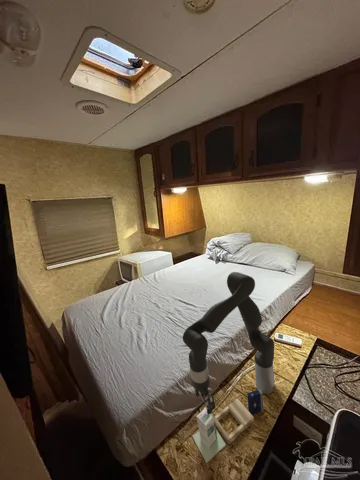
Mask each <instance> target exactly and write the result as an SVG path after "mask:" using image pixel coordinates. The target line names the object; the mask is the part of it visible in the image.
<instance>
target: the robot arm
mask: <svg viewBox="0 0 360 480" xmlns="http://www.w3.org/2000/svg"><path fill="white" fill-rule="evenodd" d="M226 285H227V288H228V290H229V292H230V294H231V295H230V296H228V297H227V298H226V299H224V300H221V301H219V302H216V303H215V304H213V305H212V306H211V307H210V308H209V309H208V310H207V311H206V312H205V313H204V314H203V316H202V317H201V318H200V319H198V320H196V321H195V322H194V323H192V324H191V325H190V326H188V327H187V328H186V329H185V331H183V334H182V342H183V344H184V345H186V346H187V347H188V349H189V350H190V351H189V354H188V364H189V374H190V375H189V376H190V382H191V383H190V384H191V386H192V387H193V390H194V393H195V397H196V398H198V397H201V400H202V401H203V404H205V407H206V408H207V413H208V415H209V414H211V413H212V414H213V411H214V410H215V409H216V405H215V404H216V402H215V397H214V395H213V394H211V393H210V391H209V386H210V384H211V383H210V382H211V379H210V375H209V373H210V372H209V367H208V364H207V363H208V362H207V361H208V360H207V353H208V348H209V342H208V339H207V338H206V337H205V335H203V333H205V332H207V333H210V334H213V333H214V332H215V331H216V330H217V329H218V328H219V326H220V325H221V324H223V322H224V320H225V319H226V318H227V316H229V315H230V314H231V313H232V312H233V311H234V310H236V308H238V311H239V314H240V316H241V319H242V322H243V323H244V325H245V328H246V331H247V335H248V340H249V343H250V345H251V346H252V348H253V349H254V350H256V352H255V353H254V371H255V372H254V375H255V386H256V388H257V389H256V390H258V389H261V390H262V392H263V394H266V395H267V394H269V395H270V394H272V392H273V391H274V386H275V371H274V358H275V341H274V339H273V338H271V337H270V336H268V335H267V334H265V333H263V332H262V331H261V330H260V327H261V325H262V323H263V317H262V313H261V312H260V309H259V306H258V305H257V304H256V302H255V301H254V300H253V299H252V298H251V297H250V296H251V294H252V293H253V292H254V290H255V288H256V281H255V278H253V276H250V275H247V274H244V273H242V272H239V271H238V272H237V271H232V272H230V273H229V274H228V276H227V278H226ZM205 397H206V398H205Z"/></svg>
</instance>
